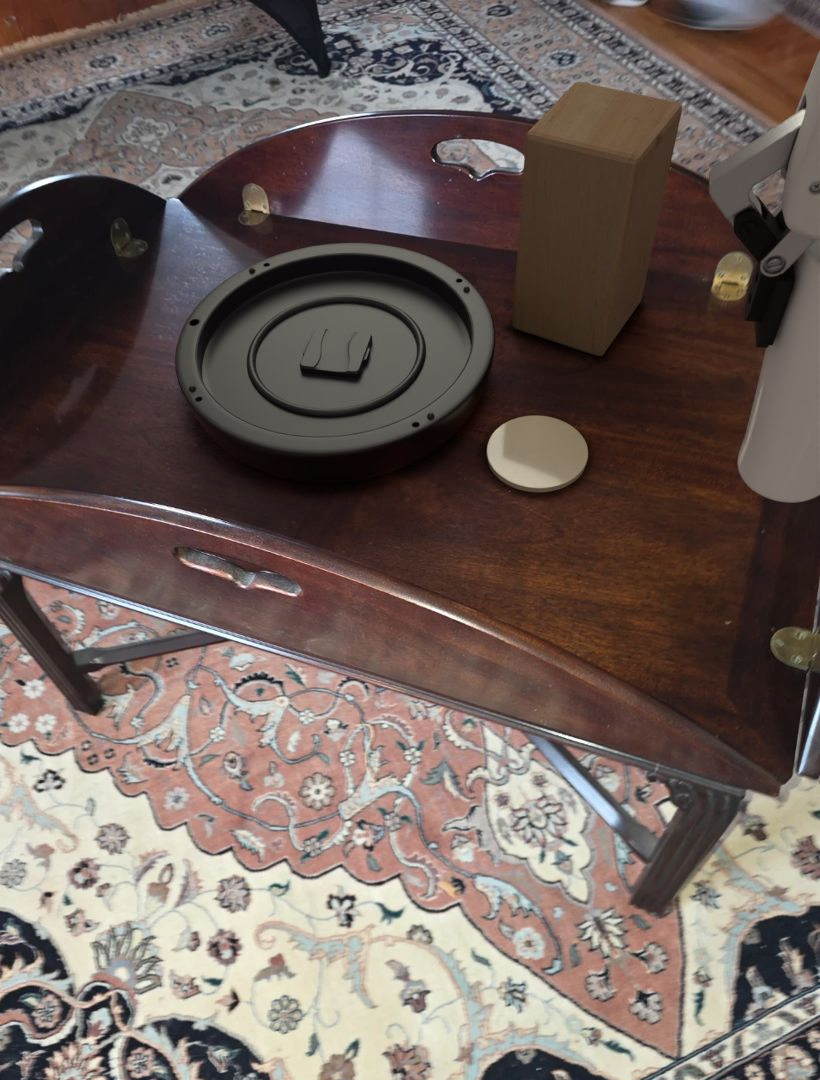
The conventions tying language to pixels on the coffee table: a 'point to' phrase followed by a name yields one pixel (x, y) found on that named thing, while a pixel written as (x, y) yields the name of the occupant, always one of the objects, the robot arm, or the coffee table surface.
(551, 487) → the coaster
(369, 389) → the round tray
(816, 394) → the drinking glass
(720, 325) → the coffee table surface
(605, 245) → the wooden block
